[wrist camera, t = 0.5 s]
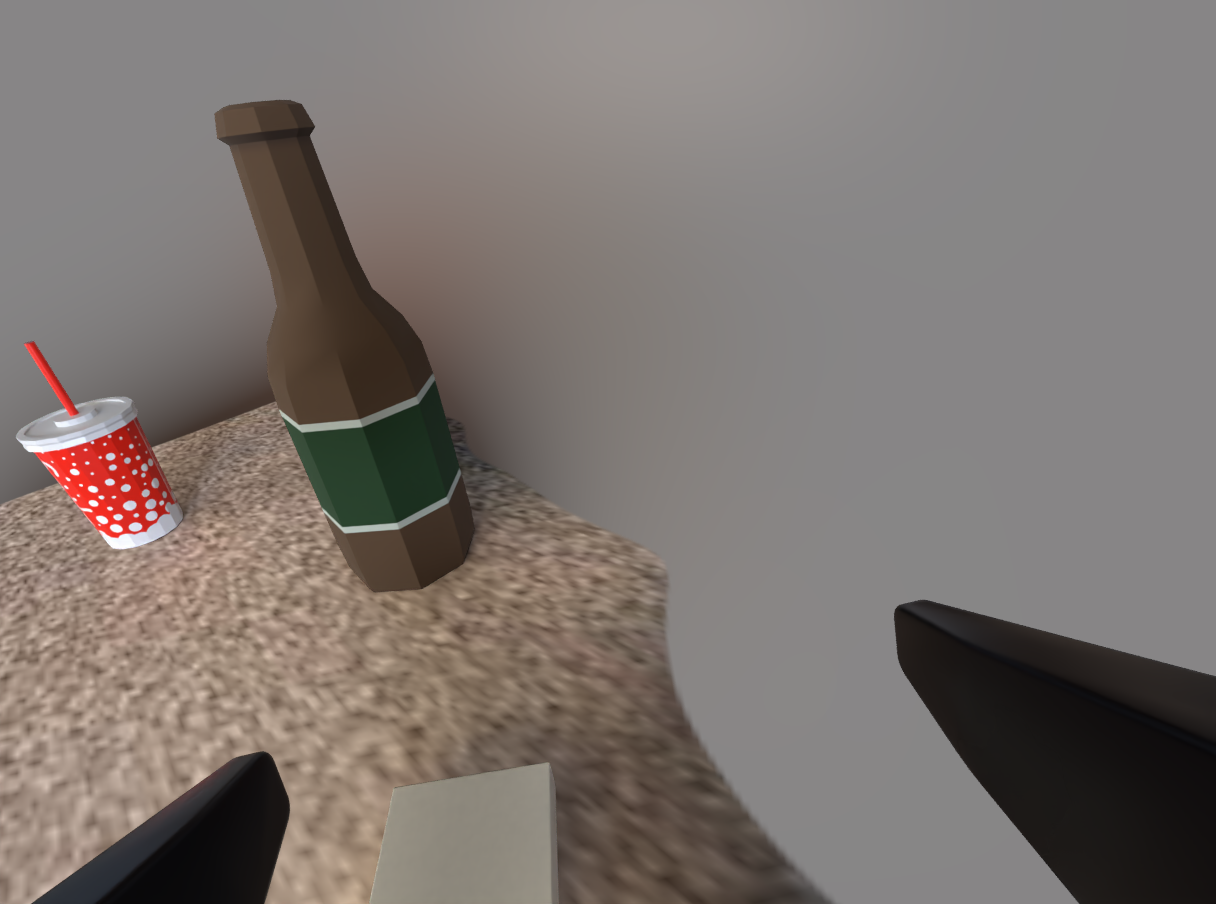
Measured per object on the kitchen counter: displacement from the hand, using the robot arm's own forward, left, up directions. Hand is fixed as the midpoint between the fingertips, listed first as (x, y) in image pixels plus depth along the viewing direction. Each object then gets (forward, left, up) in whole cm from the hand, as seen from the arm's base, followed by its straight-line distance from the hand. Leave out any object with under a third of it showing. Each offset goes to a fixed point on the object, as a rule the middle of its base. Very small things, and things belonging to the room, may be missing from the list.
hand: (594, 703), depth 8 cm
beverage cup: (+34, +29, -15) cm, 47 cm away
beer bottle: (+25, +9, -15) cm, 31 cm away
